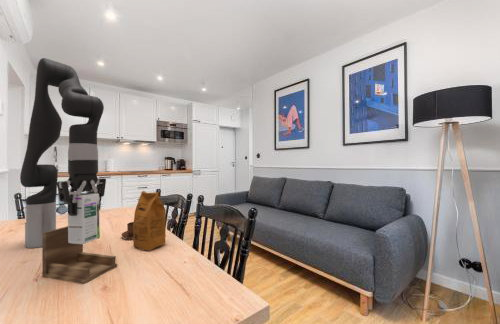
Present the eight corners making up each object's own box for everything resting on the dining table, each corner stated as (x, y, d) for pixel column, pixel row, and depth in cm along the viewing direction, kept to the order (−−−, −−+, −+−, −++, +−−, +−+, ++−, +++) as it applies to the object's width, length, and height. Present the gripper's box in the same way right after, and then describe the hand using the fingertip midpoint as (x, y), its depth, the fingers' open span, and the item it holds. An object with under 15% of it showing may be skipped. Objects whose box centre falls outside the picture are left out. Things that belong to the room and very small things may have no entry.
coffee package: (151, 239, 100) (151, 189, 100) (169, 245, 92) (168, 191, 92) (128, 246, 91) (128, 191, 92) (145, 253, 84) (145, 194, 84)
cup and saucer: (156, 235, 106) (155, 222, 106) (130, 242, 96) (130, 228, 96) (141, 231, 113) (141, 218, 113) (116, 238, 102) (116, 224, 102)
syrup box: (83, 244, 67) (83, 195, 67) (67, 243, 68) (67, 194, 68) (100, 238, 72) (100, 192, 72) (84, 237, 73) (84, 192, 74)
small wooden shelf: (42, 276, 67) (42, 232, 67) (79, 261, 78) (79, 223, 78) (83, 284, 63) (83, 237, 63) (116, 266, 73) (116, 226, 73)
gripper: (95, 159, 78) (95, 208, 78) (48, 158, 64) (48, 218, 64) (113, 159, 76) (113, 209, 76) (68, 158, 62) (68, 219, 62)
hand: (83, 213), depth 70 cm, fingers closed on syrup box, 6 cm apart
